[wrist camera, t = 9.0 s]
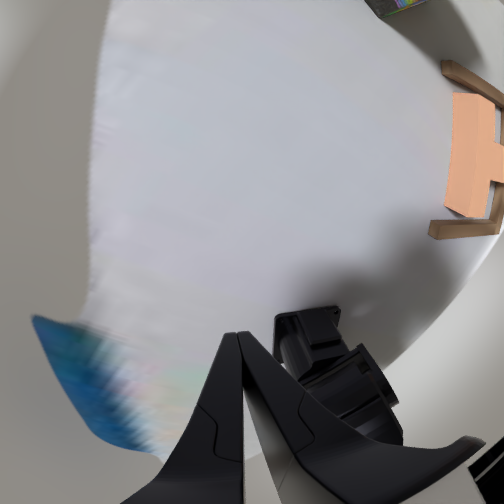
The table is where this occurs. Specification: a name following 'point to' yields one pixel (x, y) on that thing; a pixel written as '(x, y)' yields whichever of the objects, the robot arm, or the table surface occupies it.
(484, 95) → the bay
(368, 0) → the chalk box
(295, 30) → the table surface
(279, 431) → the robot arm
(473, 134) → the t block
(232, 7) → the table surface
